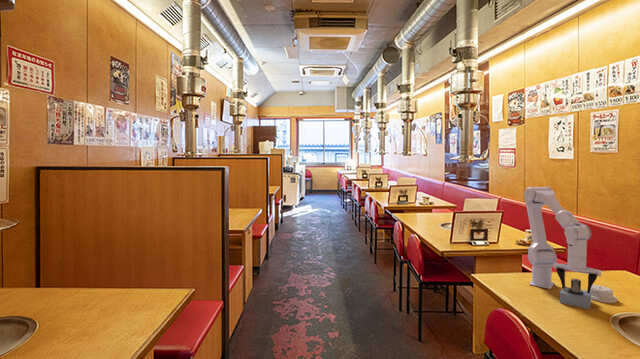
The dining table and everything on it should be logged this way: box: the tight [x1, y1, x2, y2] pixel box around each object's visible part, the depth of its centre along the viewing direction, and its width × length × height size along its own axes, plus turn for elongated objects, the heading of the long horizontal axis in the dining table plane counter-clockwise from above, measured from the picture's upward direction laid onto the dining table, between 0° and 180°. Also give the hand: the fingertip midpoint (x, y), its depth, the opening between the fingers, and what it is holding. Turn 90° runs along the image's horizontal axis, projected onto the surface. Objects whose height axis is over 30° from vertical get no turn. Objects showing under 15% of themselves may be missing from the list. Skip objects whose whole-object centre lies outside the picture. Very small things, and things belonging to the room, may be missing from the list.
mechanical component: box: [590, 284, 618, 304], centre depth 131 cm, size 10×4×10 cm
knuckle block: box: [559, 286, 592, 310], centre depth 127 cm, size 9×9×4 cm
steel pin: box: [570, 278, 582, 295], centre depth 127 cm, size 3×3×9 cm
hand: (575, 290), depth 127 cm, fingers open, 7 cm apart
